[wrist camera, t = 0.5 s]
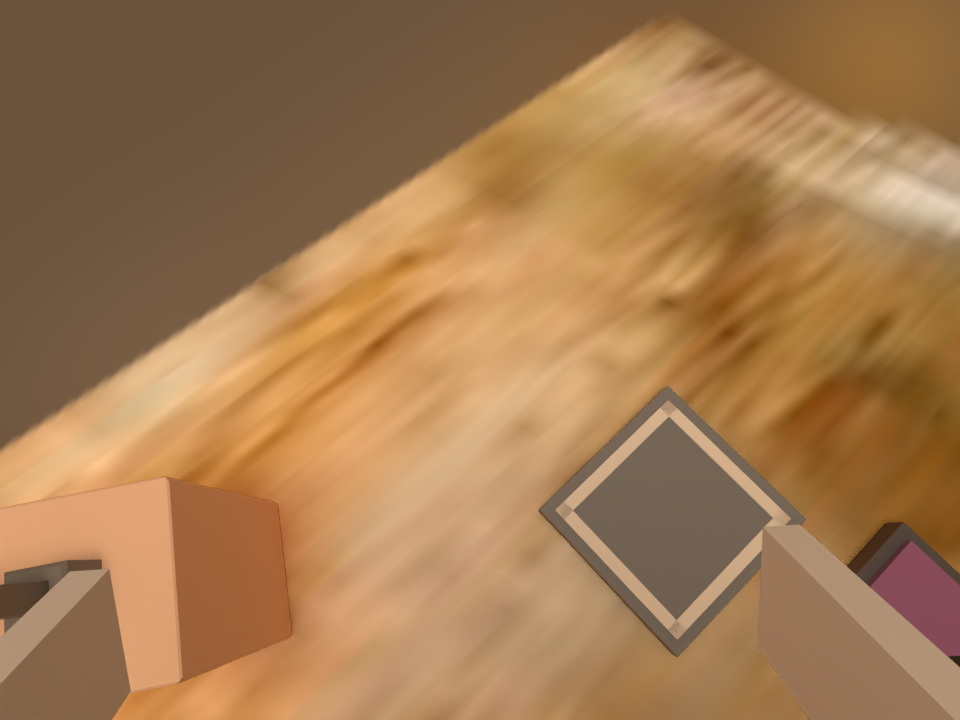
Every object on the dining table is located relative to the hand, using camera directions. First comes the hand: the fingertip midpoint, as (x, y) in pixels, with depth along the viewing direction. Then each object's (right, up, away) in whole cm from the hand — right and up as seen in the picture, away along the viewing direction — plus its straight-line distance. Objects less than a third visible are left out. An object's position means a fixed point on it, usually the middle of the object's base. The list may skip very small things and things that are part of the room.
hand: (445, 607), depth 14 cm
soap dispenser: (-18, -10, +31) cm, 37 cm away
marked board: (+13, -5, +31) cm, 34 cm away
